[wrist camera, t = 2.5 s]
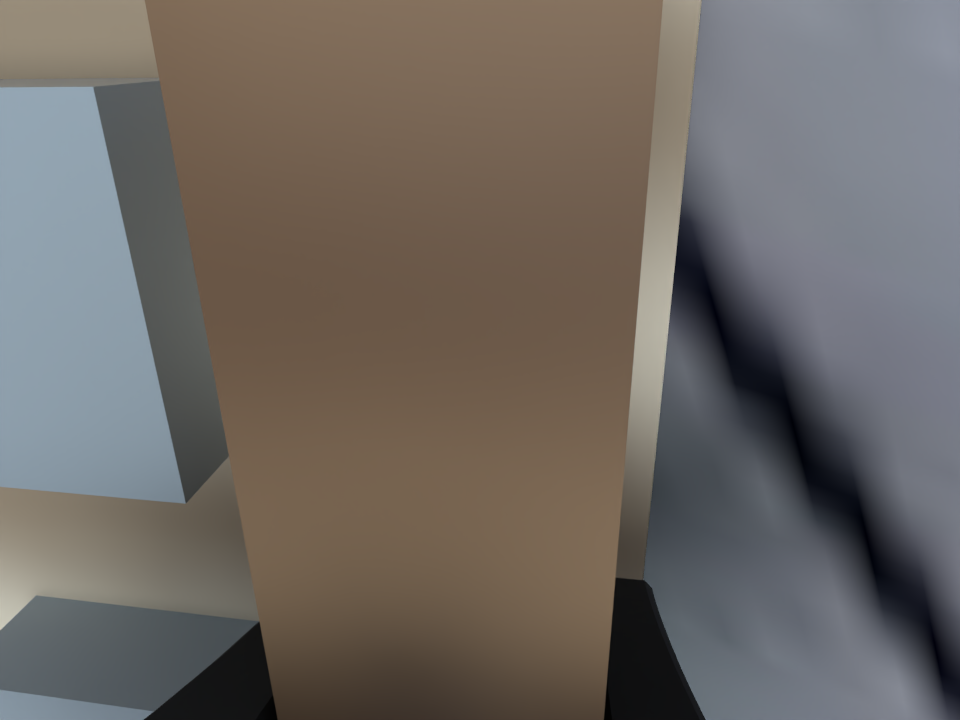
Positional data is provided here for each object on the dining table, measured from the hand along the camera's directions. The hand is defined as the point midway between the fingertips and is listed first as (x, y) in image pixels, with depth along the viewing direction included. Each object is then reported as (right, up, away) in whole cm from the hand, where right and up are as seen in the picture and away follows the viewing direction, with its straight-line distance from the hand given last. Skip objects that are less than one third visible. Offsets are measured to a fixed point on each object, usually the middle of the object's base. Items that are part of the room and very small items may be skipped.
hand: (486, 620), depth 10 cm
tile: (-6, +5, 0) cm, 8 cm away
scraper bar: (0, +1, +1) cm, 1 cm away
